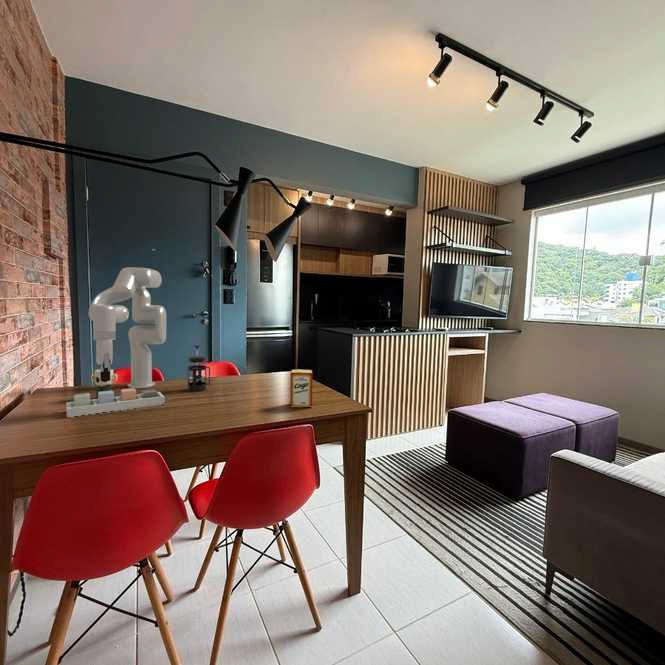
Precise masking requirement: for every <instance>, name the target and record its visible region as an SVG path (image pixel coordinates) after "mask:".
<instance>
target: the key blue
mask: <svg viewBox="0 0 665 665" xmlns="http://www.w3.org/2000/svg"><path fill="white" fill-rule="evenodd" d="M114 397H115V392H114V391H113V389H112V391H102V392H98V402H99V404H104V403H112V402H114Z"/></svg>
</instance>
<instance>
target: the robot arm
mask: <svg viewBox="0 0 665 665" xmlns="http://www.w3.org/2000/svg"><path fill="white" fill-rule="evenodd" d="M162 282H163V281H162V275H161V273H160V272H159V271H158V270H154V269H151V268H147V267H134V266H133V267H132V266H131V267H128V266H126V267H123V268H122V269H121V270H120V271H119V274H118V275H117V278H116V279H115V281H114V283H113V286H111V287H109V288H107V289H105V290H103V291H102V292H100V293H99V294H97V295H96V296H95V297H94V299H93V300H92V302H91V304H90V306H89V309H88V317H89V319H90V320H91V321H92V322H93V331H92V332H93V340H94V341H96V343H95V344H96V349H95V351H96V352H95V353H96V355H95V356H96V357H95V360H96V361H95V362H96V364H97V365H98V366H100V369H101V371H100V372H101V381H102V382H103V381H110V369H111V365H112V364H113V355H114V352H113V351H114V350H113V349H114V348H113V346H114V345H113V344H114V343H113V341H114V340H116V338H117V335H116V333H117V332H116V331H117V329H116V328H117V326H116V324H118V323H119V324H120V323H121V324H122V323H125V322H127V320H128V319H129V316H130V312H129V309H128V308H127V307H126V306H124V305H121V304H116V303H121V302H124V301H127V300H130V299H131V300H132V301H131V302H132V304H131V317H132V320H133V322H134V323H137V324H155V325H134V326H132V327H130V329H129V330H128V340H129V345H130V373H131V374H130V376H131V377H130V380H131V381H130V383H128V384H127V387H128V389H130V388H135V389H145V388H146V389H147V388H151V387H153V386H156V382H155V381H153V378H152V377H153V376H152V375H153V371H152V370H153V368H152V366H153V364H152V362H153V361H152V360H153V359H152V358H153V357H152V356H153V355H152V350H151V349H150V347H149V346H148V345H162V344H164V343H165V342H166V340H167V310H166V308H165V307H164V306H162V305H159V304H156V305H155V304H151V303H152V302H151V301H152V300H151V299H152V296H151V294H150V292H149V291H148V289H146V288H153V289H157V288H160V286H161V285H162Z"/></svg>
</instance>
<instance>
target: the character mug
mask: <svg viewBox="0 0 665 665" xmlns="http://www.w3.org/2000/svg"><path fill="white" fill-rule="evenodd" d="M100 371H101V368H100V369H96V370H94V373H91V374H90V381H91V382H94V384H95V385H96V386H97V389H96V395H95V396H96V397H95V399H98V392H102V391H112V390H113V389H112V384H113V383H114V382H116V381H118V374H117V373H114V369H112V368H110V381H103V382H102V381H101V372H100Z"/></svg>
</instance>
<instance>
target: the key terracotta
mask: <svg viewBox="0 0 665 665" xmlns="http://www.w3.org/2000/svg"><path fill="white" fill-rule="evenodd" d="M136 394H137V389H136V388H123V389H121V388H120V396H121V400H122V401H128V400H136Z"/></svg>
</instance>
